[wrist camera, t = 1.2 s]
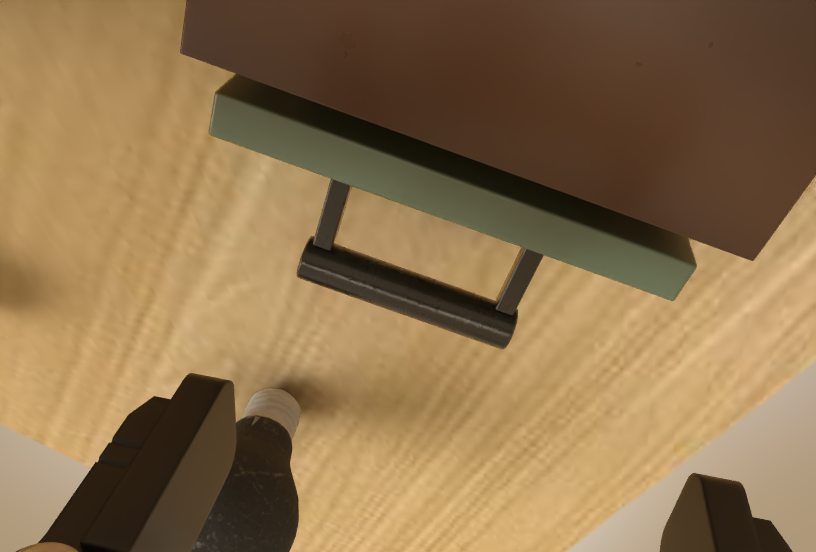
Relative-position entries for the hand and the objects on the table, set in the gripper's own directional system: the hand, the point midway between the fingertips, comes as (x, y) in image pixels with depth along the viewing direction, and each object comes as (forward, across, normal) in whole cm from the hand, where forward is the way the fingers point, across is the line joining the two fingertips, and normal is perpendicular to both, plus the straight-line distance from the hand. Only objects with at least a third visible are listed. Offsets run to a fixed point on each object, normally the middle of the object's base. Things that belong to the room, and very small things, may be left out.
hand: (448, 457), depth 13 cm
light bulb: (+16, +8, +15) cm, 23 cm away
